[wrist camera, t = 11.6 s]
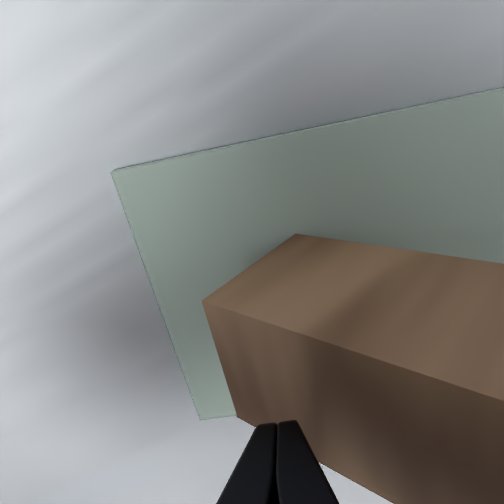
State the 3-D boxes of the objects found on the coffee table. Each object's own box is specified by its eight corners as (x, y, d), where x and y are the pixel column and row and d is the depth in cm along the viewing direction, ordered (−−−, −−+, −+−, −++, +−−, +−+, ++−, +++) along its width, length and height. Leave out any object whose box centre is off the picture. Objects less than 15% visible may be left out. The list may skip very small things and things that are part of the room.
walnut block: (315, 338, 15) (557, 418, 11) (237, 416, 13) (508, 567, 8) (295, 233, 14) (573, 273, 9) (201, 301, 11) (517, 405, 6)
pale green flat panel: (583, 363, 16) (589, 369, 15) (201, 414, 17) (200, 420, 17) (622, 62, 11) (631, 62, 11) (114, 169, 13) (110, 172, 13)
